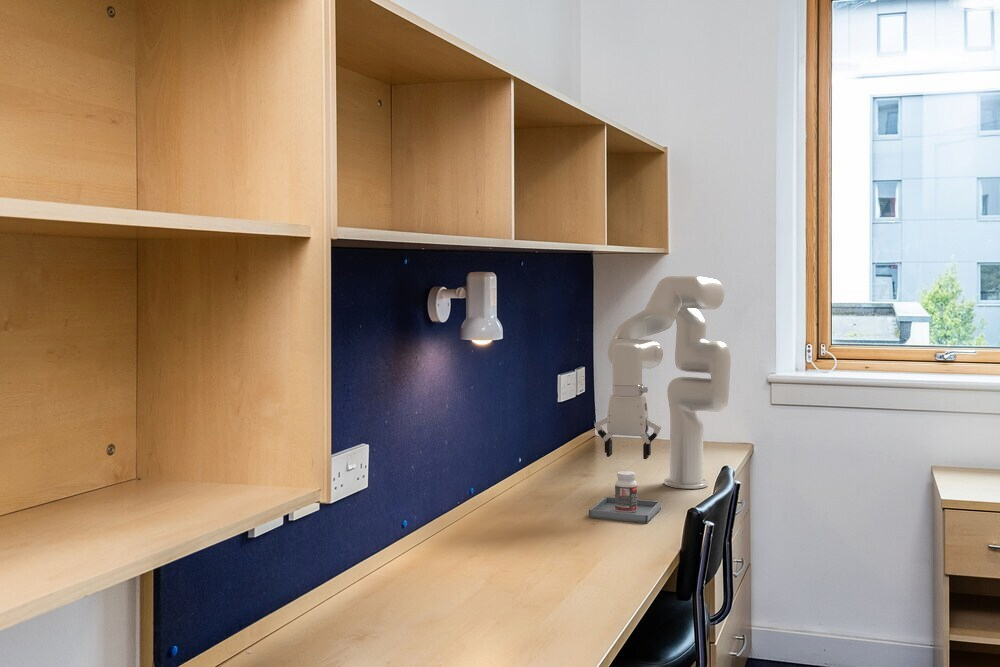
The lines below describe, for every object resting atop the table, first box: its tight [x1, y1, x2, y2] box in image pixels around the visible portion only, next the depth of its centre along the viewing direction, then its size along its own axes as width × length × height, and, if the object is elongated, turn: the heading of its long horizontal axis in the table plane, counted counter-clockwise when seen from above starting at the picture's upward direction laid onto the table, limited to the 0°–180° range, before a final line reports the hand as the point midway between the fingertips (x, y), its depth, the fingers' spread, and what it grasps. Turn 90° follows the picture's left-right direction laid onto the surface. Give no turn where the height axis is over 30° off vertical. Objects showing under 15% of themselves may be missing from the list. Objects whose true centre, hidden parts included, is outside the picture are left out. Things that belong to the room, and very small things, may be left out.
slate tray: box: [588, 496, 662, 524], centre depth 249 cm, size 16×15×2 cm
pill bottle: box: [614, 470, 638, 513], centre depth 249 cm, size 6×6×10 cm
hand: (627, 456), depth 249 cm, fingers open, 9 cm apart
